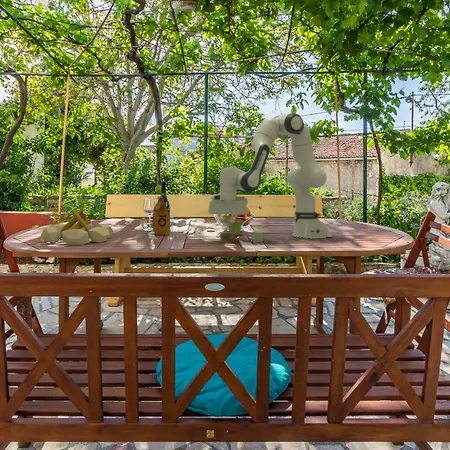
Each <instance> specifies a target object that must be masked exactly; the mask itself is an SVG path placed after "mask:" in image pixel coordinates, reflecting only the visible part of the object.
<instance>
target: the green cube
mask: <svg viewBox="0 0 450 450" xmlns="http://www.w3.org/2000/svg"><path fill="white" fill-rule="evenodd" d="M251 241H252V242H253V243H257V242H258V243H263V242H264V232H263V231H262V230H257V231H255V230H251Z"/></svg>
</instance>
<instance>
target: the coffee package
mask: <svg viewBox="0 0 450 450" xmlns="http://www.w3.org/2000/svg"><path fill="white" fill-rule="evenodd" d="M156 199H157V202H156V204H155V205H154V206H153V209H152V229H153V233H154V234H155V235H156V236H169V235H170V232H171V223H170V222H171V221H170V215H169V211H168V207H167V206H166V203H165V200H164V197H162V196H157V197H156Z"/></svg>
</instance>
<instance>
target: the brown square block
mask: <svg viewBox="0 0 450 450" xmlns="http://www.w3.org/2000/svg"><path fill="white" fill-rule="evenodd" d="M220 242H221V243H235V242H236V235H235V234H234V233H229V232H220Z"/></svg>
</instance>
